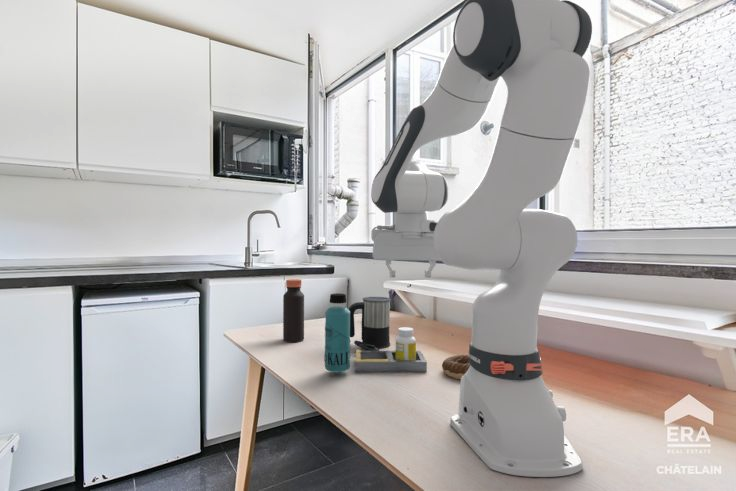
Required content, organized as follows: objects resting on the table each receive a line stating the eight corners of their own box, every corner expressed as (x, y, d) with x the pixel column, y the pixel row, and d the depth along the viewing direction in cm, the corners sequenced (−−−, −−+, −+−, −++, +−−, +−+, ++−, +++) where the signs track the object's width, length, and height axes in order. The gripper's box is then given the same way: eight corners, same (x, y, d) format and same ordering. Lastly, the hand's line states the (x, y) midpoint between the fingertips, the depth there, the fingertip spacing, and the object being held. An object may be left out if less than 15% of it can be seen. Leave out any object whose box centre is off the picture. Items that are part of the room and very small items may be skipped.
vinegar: (296, 336, 130) (297, 278, 130) (308, 340, 125) (308, 280, 125) (279, 339, 126) (279, 279, 126) (290, 344, 121) (290, 281, 121)
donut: (492, 382, 89) (492, 365, 89) (448, 383, 89) (448, 366, 89) (477, 367, 100) (477, 352, 100) (437, 368, 99) (437, 352, 99)
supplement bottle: (415, 362, 103) (415, 326, 103) (416, 369, 98) (416, 331, 98) (395, 361, 104) (395, 326, 104) (395, 368, 98) (395, 330, 98)
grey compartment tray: (426, 371, 96) (426, 360, 96) (355, 372, 95) (355, 360, 95) (420, 359, 106) (420, 349, 106) (356, 359, 105) (356, 349, 105)
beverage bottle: (335, 367, 99) (336, 291, 98) (356, 372, 95) (356, 293, 95) (318, 374, 93) (318, 293, 93) (339, 380, 90) (339, 296, 89)
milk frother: (384, 339, 127) (384, 295, 127) (404, 353, 112) (405, 303, 112) (343, 343, 122) (343, 297, 122) (359, 358, 107) (359, 305, 107)
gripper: (371, 225, 97) (371, 278, 98) (451, 225, 97) (450, 279, 98) (371, 225, 103) (370, 275, 104) (446, 225, 103) (445, 275, 104)
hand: (410, 277), depth 101 cm, fingers open, 8 cm apart
